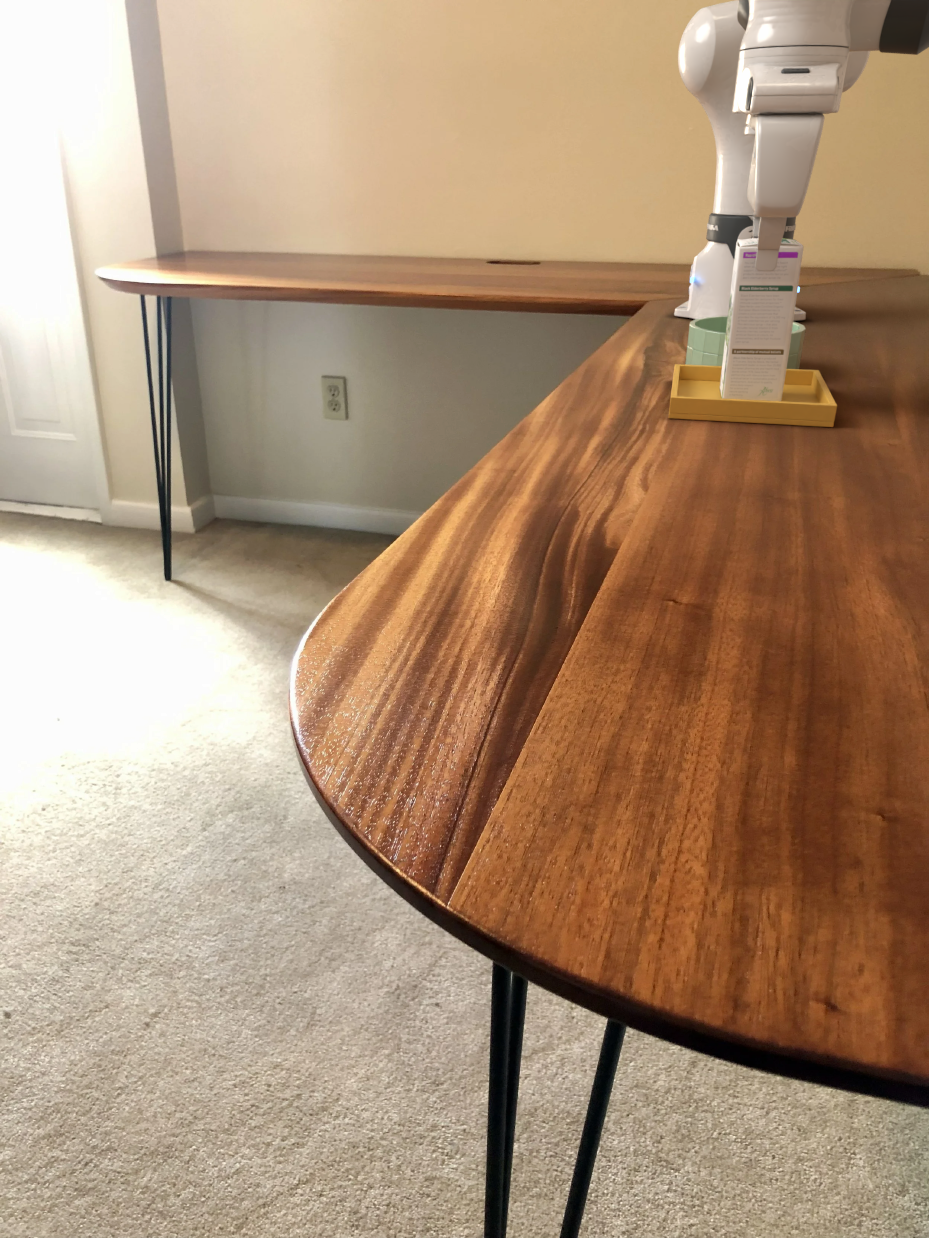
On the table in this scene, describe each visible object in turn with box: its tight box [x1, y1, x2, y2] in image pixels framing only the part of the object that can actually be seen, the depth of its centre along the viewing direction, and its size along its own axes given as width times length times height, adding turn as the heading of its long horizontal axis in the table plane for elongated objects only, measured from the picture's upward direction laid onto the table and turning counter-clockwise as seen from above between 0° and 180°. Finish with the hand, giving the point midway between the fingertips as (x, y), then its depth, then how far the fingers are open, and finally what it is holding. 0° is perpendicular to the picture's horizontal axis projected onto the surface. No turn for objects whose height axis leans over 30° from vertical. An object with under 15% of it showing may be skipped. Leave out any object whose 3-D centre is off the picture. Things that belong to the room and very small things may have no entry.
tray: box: [667, 363, 838, 428], centre depth 88 cm, size 15×15×2 cm
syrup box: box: [720, 238, 804, 401], centre depth 85 cm, size 6×6×14 cm
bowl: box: [684, 316, 807, 369], centre depth 100 cm, size 12×12×5 cm
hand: (761, 263), depth 82 cm, fingers open, 8 cm apart
